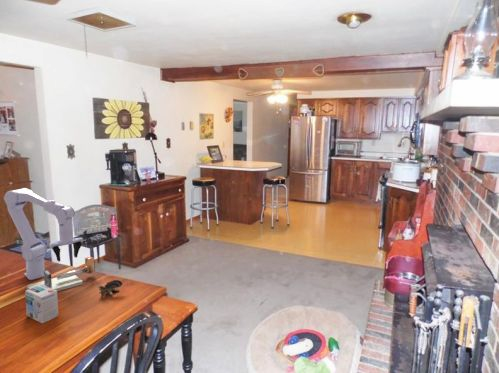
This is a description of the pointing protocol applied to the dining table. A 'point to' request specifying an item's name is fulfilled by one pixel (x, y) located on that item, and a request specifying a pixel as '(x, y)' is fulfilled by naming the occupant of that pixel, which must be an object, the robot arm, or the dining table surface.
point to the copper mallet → (88, 269)
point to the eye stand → (57, 282)
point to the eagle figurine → (110, 287)
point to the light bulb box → (41, 303)
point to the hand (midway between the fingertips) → (67, 258)
